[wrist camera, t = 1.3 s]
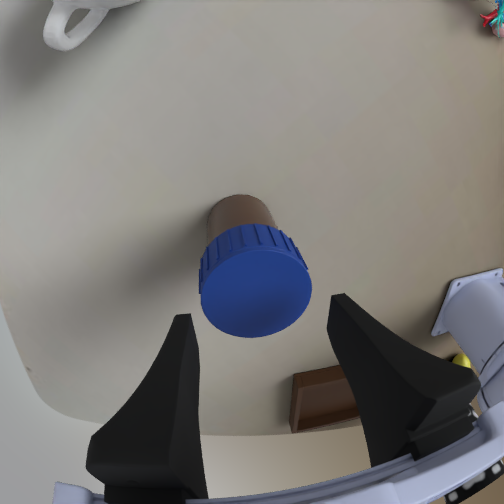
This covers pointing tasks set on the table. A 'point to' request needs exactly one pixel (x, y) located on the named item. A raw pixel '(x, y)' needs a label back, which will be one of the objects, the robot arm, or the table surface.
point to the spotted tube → (479, 480)
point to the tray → (321, 399)
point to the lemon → (461, 360)
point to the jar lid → (253, 281)
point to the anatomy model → (496, 19)
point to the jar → (237, 215)
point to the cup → (59, 15)
